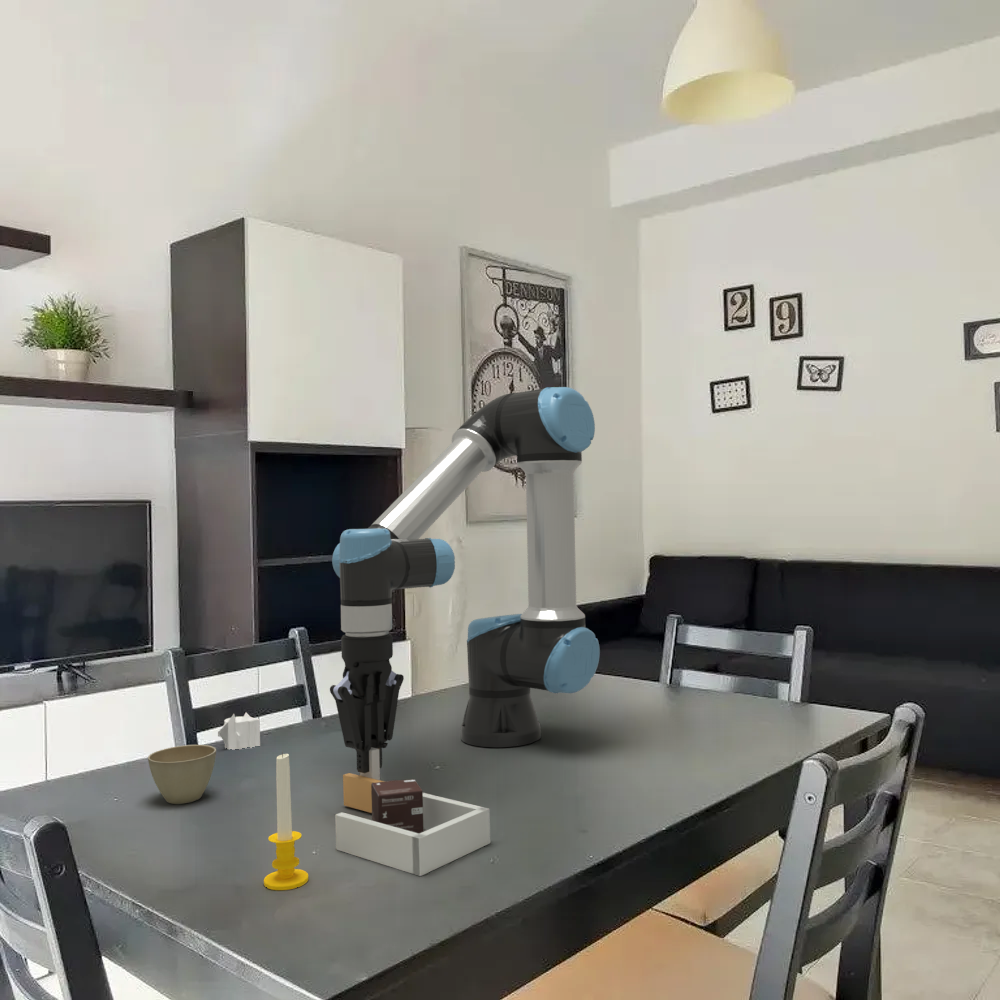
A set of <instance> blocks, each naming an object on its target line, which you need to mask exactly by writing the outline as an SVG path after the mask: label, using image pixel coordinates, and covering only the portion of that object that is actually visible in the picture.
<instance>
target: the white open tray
mask: <svg viewBox="0 0 1000 1000" xmlns="http://www.w3.org/2000/svg"><path fill="white" fill-rule="evenodd" d="M490 813H491V812H490V808H488V807H485V806H484V807H483V806H479V805H475V804H471V803H467V802H463V801H459V800H455V799H451V798H447V797H442V796H437V795H434V794H430V793H426V792H423V827H424V832H422V833H415V832H411V831H408V830H404V829H401V828H397V827H393V826H390V825H386V824H383V823H379V822H375V821H372V819H369V818H364V817H360V816H357V815H354V814H350V813H345V812H342V811H341V812H339V813H336V814H335V815H334V816H335V818H334V819H335V825H334V826H335V850H338V851H340V852H343V853H346V854H349V855H352V856H356V857H359V858H362V859H364V860H367V861H372V862H375V863H377V864H381V865H384V866H387V867H391V868H393V869H397V870H400V871H403V872H406V873H409V874H412V875H416V876H418V877H421V876H424V875H426V874H428V873H429V872H433V871H434V870H437V869H439V868H441V867H443V866H446V865H448V864H449V863H451V862H453V861H455V860H457V859H460V858H462V857H464V856H466V855H468V854H471V853H473V852H474V851H477V850H479V849H480V848H483V847H484V846H487V845H489V844H491V821H490V819H491V818H490V817H491V816H490Z"/></svg>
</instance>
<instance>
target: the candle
mask: <svg viewBox="0 0 1000 1000" xmlns="http://www.w3.org/2000/svg"><path fill="white" fill-rule="evenodd" d="M275 765H276V767H275V768H276V769H275V770H276V772H275V778H276V781H275V782H276V824H277V825H276V829H277V831H276V832H275V833H273V834H271V835H269V836H268V841H269V842H271V843H273V844H275V847H276V850H275V854H276V858H274V860H273V861H272V863H271V866H272V868H273V869H275V870H276V871H274V872H273V871H272V872H271V873H268V874H267V875H265V877H264V879H263V885H264V887H265V888H266V887H267V888H266V889H268V890H271V891H288V890H289V891H290V890H295V889H298V888H300V887H302V886H304V885H305V884H307V883H308V881H309V873H308V872H307V871H305V870H303V869H300V868H296V867H298V866H299V865H300V858H299V857H297V856H295V853H296V848H295V842H296V841H298V840H300V839H301V838H302V833H301V832H299V831H296V830H293V826H292V825H293V824H292V823H293V822H292V821H293V820H292V800H291V799H292V797H291V796H292V795H291V767H290V754H289V753H284V750H282V751H281V754H279V755H278V756H276V764H275ZM297 887H298V888H297Z"/></svg>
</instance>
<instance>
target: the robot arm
mask: <svg viewBox="0 0 1000 1000" xmlns="http://www.w3.org/2000/svg"><path fill="white" fill-rule="evenodd" d="M595 426H596V423H595V418H594V414H593V410H592V408H591V406H590V404H589V402H588V401H587V400H586V399H585V397H584V396H583V394H581V393H580V392H579V391H577V390H576V389H574V388H572V387H569V386H558V387H555V386H553V387H550V386H549V387H548V386H547V387H545V388H538V389H532V390H526V391H519V392H511V393H510V392H509V393H506V394H503V395H501V396H497V397H495V398H494V399H491V401H489V402H488V403H486V404H485V405H483V406H482V407H481V408H480V409H478V410H477V411H475V413H473V414H472V415H471V416H470V417H469V418H467V420H465V421H464V423H462V425H461V426H459V427H458V428H457V430H455V431H454V433H453V434H452V436H451V443H450V444H449V446H448V447H447V448H446V449H445V450H443V451H442V453H441V454H440V455H439V456H438V457H437V458H436V459H435V460H434V461H433V462H432V463H431V464H430V465H429V466H428V467H427V468H426V469H424V471H423V472H422V473H421V474H420V475H419V476H418V477H417V478H416V479H415V480H414V481H413V482H412V483H411V484H410V485H409V486H408V487H407V488H406V489H405V490H404V491H403V492H402V493H401V494H400V496H398V497H397V498H396V499H395V500H394V501H393V502H392V503H391V504H390V505H389V507H388V508H386V510H384V512H383V513H382V514H380V515H379V517H378V518H376V520H374V521H373V523H372V524H370V526H368V528H349V529H346V530H343V531H342V533H341V535H340V537H339V543H338V544H337V545H336V546H335V548H334V551H333V553H332V558H331V562H332V563H331V564H332V567H333V570H334V572H335V574H336V576H337V577H338V578H339V585H340V586H339V587H340V590H339V591H340V630H341V631H342V633H345V634H343V635H342V636H341V637H340V641H341V650H340V651H341V659H342V661H343V662H344V668H343V672H342V679H341V680H340V682H339V683H337V685H335V684H332V685H331V686H330V688H329V692H330V693H331V696H332V698H333V699H334V700H335V705H336V708H337V709H336V710H337V714H338V719H339V724H340V728H341V734H342V737H343V738H342V739H343V742H344V746H345V748H346V747H347V748H350V749H354V750H355V752H356V770H357V773H359V775H360V776H364V777H368V778H372V779H376V780H381V774H380V773H381V772H380V771H381V769H382V766H383V750H382V749H386V748H387V747H388V744H389V743H387V741H391V740H392V739H393V737H394V728H395V721H396V715H397V708H398V701H399V695H400V690H401V687H402V684H403V682H404V681H405V679H404V675H403V674H399V673H396V672H395V671H393V670H392V669H393V668H392V665H391V661H390V659H392V657H393V655H394V651H393V645H394V644H393V635H392V633H390V631H391V630H392V629H393V605H392V604H393V603H392V602H393V591H396V590H402V589H403V590H405V589H414V588H415V589H417V588H430V589H431V588H433V587H435V586H442V585H444V584H446V583H448V582H449V581H450V580H451V579H452V577H453V575H454V573H455V569H456V564H455V563H456V561H455V560H456V556H455V553H454V551H453V548H452V546H451V545H450V544H449V543H448V542H447V541H446V540H444V539H441V538H431V537H429V538H428V537H425V538H421V537H422V536H423V535H424V534H425V533H426V532H427V531H428V529H430V528H431V527H432V526H433V524H434V523H435V522H436V521H438V519H439V518H441V515H443V514H444V513H445V511H446V510H447V509H448V508H449V507H450V506H451V505H452V504H454V502H455V500H456V499H458V497H460V495H461V494H462V493H463V492H464V491H466V489H467V488H468V487H469V486H470V485H471V484H472V483H473V481H474V480H475V479H476V478H477V477H479V476H480V474H482V472H483V473H485V472H490V471H491V470H492V469H493V468H494V467H495V466H496V465H497V464H498V463H499V462H501V461H504V460H505V459H508V458H511V457H515V456H516V465H517V466H518V467H519V468H520V469H521V470H522V471H523V472H524V475H525V496H526V498H525V499H526V501H525V503H526V542H527V543H526V546H527V547H526V549H527V554H526V555H527V590H528V592H527V593H528V596H527V598H528V599H527V601H528V605H527V608H526V610H524V611H523V613H515V614H514V613H513V614H505V615H496V616H489V617H482V618H477V619H474V620H473V619H472V621H470V622H469V624H468V627H467V640H466V648H467V651H466V652H467V669H468V699H467V700H468V701H467V704H466V706H465V707H466V708H465V711H464V716H463V720H462V723H461V725H460V726H461V727H460V740H461V741H462V742H463V743H465V744H468V745H470V746H475V747H482V748H483V747H484V748H510V747H519V746H525V745H530V744H532V743H534V742H537V741H538V740H540V739H541V738H542V735H541V733H542V731H541V729H542V728H541V723H540V721H539V719H538V716H537V711H536V709H535V706H534V702H533V700H532V696H531V689H536V690H541V691H547V692H549V693H553V694H559V693H560V694H561V693H562V694H575V693H577V692H579V691H581V690H583V689H584V688H586V687H587V685H588V684H589V683H590V681H591V679H592V678H593V677H594V676H595V674H596V671H597V669H598V666H599V663H600V662H599V661H600V655H601V654H600V653H601V650H600V644H599V640H598V638H596V634H595V633H594V632H593V631H592V630H590V629H589V628H588V627H586V614H585V613H584V612H583V611H582V610H580V609H579V608H578V605H577V581H576V580H577V577H576V576H577V571H576V569H577V568H576V532H575V531H576V530H575V525H576V523H575V522H576V521H575V489H574V488H575V484H574V483H575V479H574V478H575V477H574V473H575V471H576V470H577V468H579V466H580V465H582V463H583V459H582V458H583V456H582V454H583V453H582V452H583V451H585V450H587V449H588V448H589V447H590V446H591V444H592V441H593V439H594V437H595V431H596V427H595Z"/></svg>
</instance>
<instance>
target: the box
mask: <svg viewBox="0 0 1000 1000" xmlns="http://www.w3.org/2000/svg"><path fill="white" fill-rule="evenodd" d="M384 781H385V780H384ZM423 793H424V792H423V789H422V788H421V786H420V785H419V784H418V782H417V781H416V779H414V778H413V779H412V778H411V779H401V780H398V779H397V780H396V779H395V780H394V779H393V780H386V781H385V782H376V783H372V784H371V796H372V813H371V820H372V821H375V822H379V823H383V824H386V825H390V826H393V827H397V828H401V829H404V830H408V831H411V832H415V833H422V832H424V831H425V829H424V827H423Z"/></svg>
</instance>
